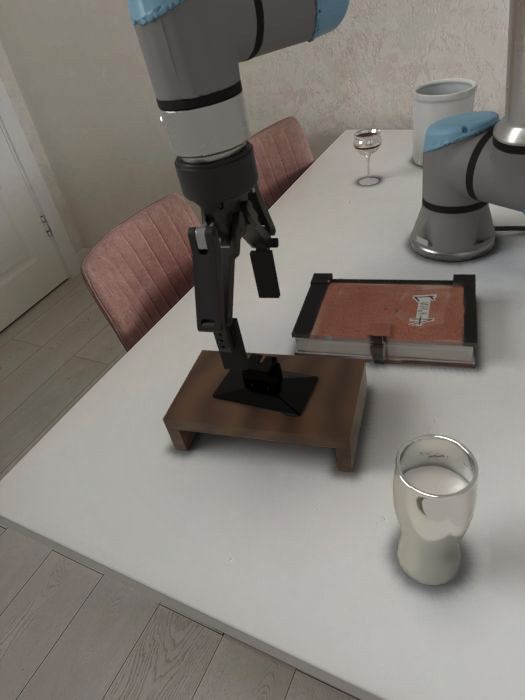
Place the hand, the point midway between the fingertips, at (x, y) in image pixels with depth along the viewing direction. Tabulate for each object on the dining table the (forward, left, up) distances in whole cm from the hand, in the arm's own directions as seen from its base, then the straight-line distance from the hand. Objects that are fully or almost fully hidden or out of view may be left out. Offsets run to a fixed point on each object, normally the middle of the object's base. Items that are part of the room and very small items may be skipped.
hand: (254, 329), depth 59 cm
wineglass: (-3, -83, -16) cm, 84 cm away
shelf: (0, 0, -16) cm, 16 cm away
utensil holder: (-20, -96, -16) cm, 99 cm away
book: (-13, -21, -16) cm, 30 cm away
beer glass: (-21, +16, -16) cm, 31 cm away
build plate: (0, 0, -10) cm, 10 cm away
